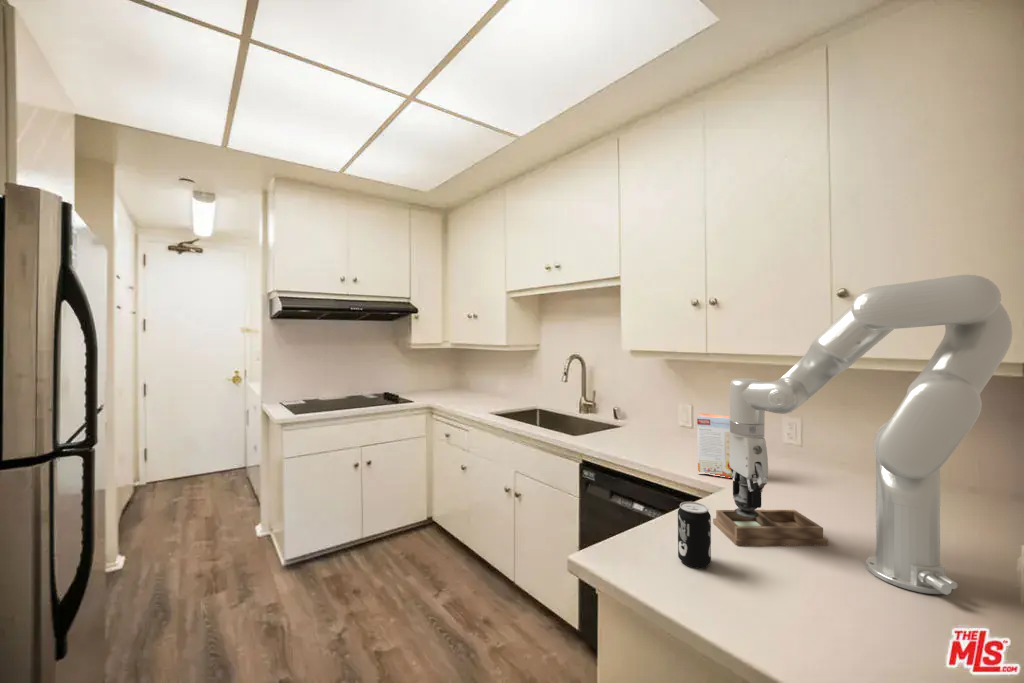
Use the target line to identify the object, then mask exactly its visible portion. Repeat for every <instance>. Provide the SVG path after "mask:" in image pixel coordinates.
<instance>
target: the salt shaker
mask: <svg viewBox="0 0 1024 683" xmlns="http://www.w3.org/2000/svg"><path fill="white" fill-rule="evenodd" d="M752 478H754V475H752ZM738 483H739V484H740V490H739V494H737V495H734V496H733V495H732V498H733V500H734V504H735V505H736V507H737V508H735V509H733V510H734V512H735V513H736V514H738V515H740V516H743V517H748V518H756V517H758V516H759V514H758V513H757V512H756V511H754V510H758V508H749V507H747V490H749V489H748V484H747V478H745V477H744V476H742V475H741V474H740V481H739V482H738ZM754 483H755V482H754V480H752V485H753V484H754Z"/></svg>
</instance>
